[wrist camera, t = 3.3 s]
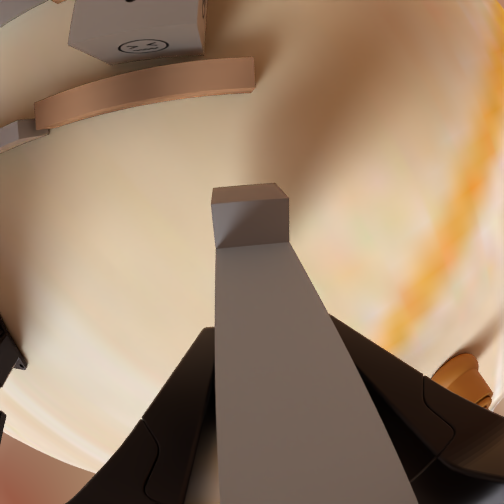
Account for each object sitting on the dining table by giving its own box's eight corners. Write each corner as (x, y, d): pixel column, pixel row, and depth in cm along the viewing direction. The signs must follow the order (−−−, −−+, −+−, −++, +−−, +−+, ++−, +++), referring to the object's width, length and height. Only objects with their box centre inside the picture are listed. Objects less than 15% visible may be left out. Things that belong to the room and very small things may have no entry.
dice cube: (209, -20, 10) (207, -68, 5) (203, 55, 12) (196, 23, 7) (120, -10, 9) (88, -47, 5) (110, 64, 11) (67, 45, 7)
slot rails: (54, 128, 12) (36, 130, 10) (60, -14, 8) (45, -24, 6) (250, 92, 13) (255, 87, 11) (241, -53, 9) (244, -71, 7)
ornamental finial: (462, 341, 24) (476, 359, 26) (414, 388, 26) (434, 398, 28) (502, 389, 16) (507, 400, 19) (445, 440, 18) (460, 442, 21)
